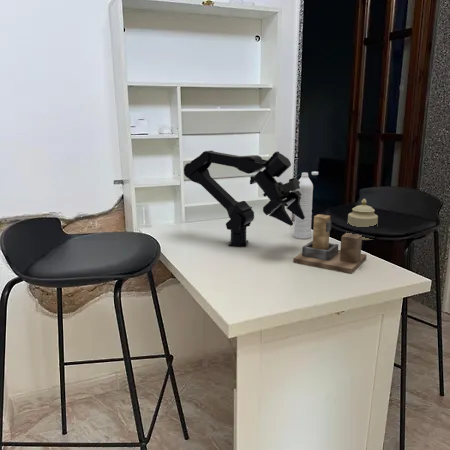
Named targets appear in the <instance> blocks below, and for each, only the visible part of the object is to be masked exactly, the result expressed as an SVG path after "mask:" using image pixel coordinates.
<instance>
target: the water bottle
mask: <svg viewBox="0 0 450 450" xmlns="http://www.w3.org/2000/svg"><path fill="white" fill-rule="evenodd" d="M311 175H312V176H318V175H319V171H311ZM298 181H300V184H299V186H300V188H299V189H296V190H297V191H299V192H300V193H301V194H302V195H301V196H300V197H301V199H300V206H301V209H302V211H303V214H304V216H305V218H304V219H303V220H302V219H301V218H299V217H298V216H296V215H295V214H294V221H293V225H294V227H293V229H294V230H293V237H294V238H296V239H298V240H301V239H302V240H307V239H311V236H312V220H313V219H312V217H313V216H312V215H313V212H312V210H313V196H314V195H313V194H314V193H313V191H314V184H313V182H312V180H311V179H310V177H309V172H301V177H300V178H299V179H298Z"/></svg>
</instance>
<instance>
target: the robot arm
mask: <svg viewBox="0 0 450 450" xmlns="http://www.w3.org/2000/svg"><path fill="white" fill-rule="evenodd" d="M291 163H292V162H291V161H290V159H289V158H288V157H287V156H285V155H283V153H280V151H275V152H274V153H273V154H272V156H270V157H269V159H263V158H262V156H260V155H254V154H253V155H235V154H230V153H224V152H217V151H214V150H204V151H203V152H202V153H200V155H199V156H197V157H196V158H194V159H193V160H191V161H190V162H187V163H186V164H184V167H183V175H184V176H185V178H187V179H189V181H191V182H193V183H196V184H198V185H201V187H203V189H204V190H206V191H207V192H208V194H209V195H211V197H212V198H214V199H215V200H216V201H217V202H218V203H219V204H220V205H221V206H222V207H223V208H224V209H225V210H226V211H227V215H228V218H229V220H227V222H226V223H225V226H226V227H225V228H226V229H227V230H228V231H229V230H230V241H229V243H228V246H231V247H247V246H248V243H249V240H247V228H248V227H250V226H251V224H252V222H253V221H254V219H255V212H254V210H253V209H252V208H253V207H252V206H251V205H249V204H248V203H247V202H246V201H245V200H241V201H238V200H236V199H234V197H232V196H231V194H229V193H228V192H227V190H225V188H223V187H222V186H221V185H220V184H219V183H218V182H217V181H216V180H215V179H214V178H213V177H212V176H211V173H210V171H209V168H210V167H211V165H212V164H217V165H222V166H225V167H226V166H227V167H232V168H236V169H237V170H238V171H240V172H243V173H245V174H254V173H256V174H255V175H251V176H249V177H250V179H249V185H254V184H257V185H258V186H259V188H260V189H261V190H262V191H263V194H262V196H263V197H267V198H268V199H269V201H268V202H267V203H266V204H265V205H264V206H263V207H262V212H263V213H264V214H265V215H266V216H269V217H271V218H274V219H276V220H278V221H281V222H283V223H284V224H286V225H288V226H290V227H292V226H293V225H294V221H292V218H291V217H290V216H289V213H287V211H286V209H287V210H288V211H290V212H291V213H292V214H293V215H294V216H295V215H296V216H298V217H299V218H301V219H302V220H303V219H304V218H305V216H304V214H303V211H302V209H301V206H300V199H301V197H300V196H301V195H302V194H301V193H300V192H299V191H297V190H296V189H299V188H300V186H299V184H300V181H299V179H298V178H296V177H295V176H294V177H292V178H290V179H288V182H286V183H283V182H282V181H277V180H276V178H280V177H281V176H282V175H283V174H284V173H285V172H286V171H287V170H288V169H289V168H290V167H291V166H292V164H291ZM262 169H263V170H262ZM275 177H276V178H275Z"/></svg>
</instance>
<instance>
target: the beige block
mask: <svg viewBox="0 0 450 450" xmlns="http://www.w3.org/2000/svg"><path fill="white" fill-rule="evenodd" d="M331 230H332V220H331V215H328V214H316V215H314V216H313V229H312V231H313V232H312V241H313V248H316V249H322V250H328V249H329V243H330V232H331Z"/></svg>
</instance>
